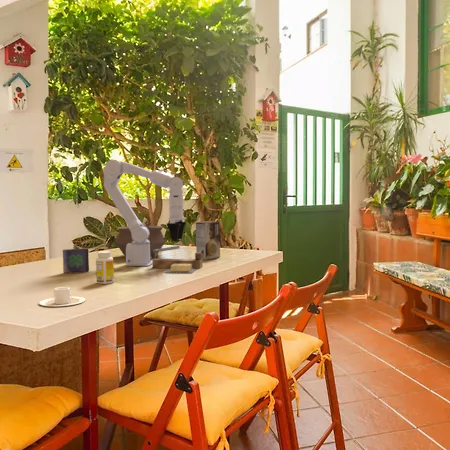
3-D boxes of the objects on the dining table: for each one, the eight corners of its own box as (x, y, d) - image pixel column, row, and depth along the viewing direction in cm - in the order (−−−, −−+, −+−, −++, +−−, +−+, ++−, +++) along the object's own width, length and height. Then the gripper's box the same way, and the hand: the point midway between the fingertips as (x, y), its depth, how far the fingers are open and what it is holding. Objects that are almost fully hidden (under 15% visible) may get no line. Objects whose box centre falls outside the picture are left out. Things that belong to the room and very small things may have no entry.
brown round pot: (157, 260, 215) (156, 223, 214) (105, 260, 219) (104, 223, 218) (173, 253, 239) (172, 219, 237) (125, 253, 243) (124, 219, 242)
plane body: (152, 267, 194) (152, 253, 194) (155, 266, 198) (155, 252, 198) (200, 268, 192) (200, 253, 191) (202, 266, 196) (202, 252, 196)
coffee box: (210, 256, 227) (210, 221, 226) (220, 257, 223) (220, 221, 222) (195, 258, 221) (195, 222, 220) (205, 259, 216) (205, 222, 215)
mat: (165, 273, 181) (165, 272, 181) (170, 269, 189) (170, 268, 189) (191, 273, 180) (191, 272, 180) (196, 269, 188) (196, 269, 188)
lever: (156, 258, 194) (156, 249, 194) (152, 258, 196) (151, 249, 195) (180, 254, 207) (180, 246, 207) (176, 254, 208) (176, 245, 208)
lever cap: (170, 271, 183) (170, 265, 183) (173, 269, 188) (173, 263, 187) (189, 271, 182) (189, 265, 182) (192, 269, 187) (192, 263, 187)
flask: (63, 273, 183) (62, 244, 182) (63, 272, 186) (62, 244, 185) (89, 272, 186) (88, 243, 185) (88, 271, 189) (88, 243, 188)
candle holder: (35, 302, 137) (34, 287, 137) (78, 297, 143) (78, 282, 143) (44, 311, 127) (43, 294, 127) (91, 305, 133) (90, 289, 133)
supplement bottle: (115, 281, 167) (114, 250, 166) (112, 284, 161) (112, 252, 160) (98, 281, 166) (97, 251, 165) (95, 284, 161) (94, 253, 160)
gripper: (181, 207, 195) (182, 241, 195) (189, 206, 209) (190, 238, 210) (164, 207, 196) (164, 241, 197) (173, 206, 210) (174, 238, 211)
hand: (176, 240), depth 203 cm, fingers open, 7 cm apart
